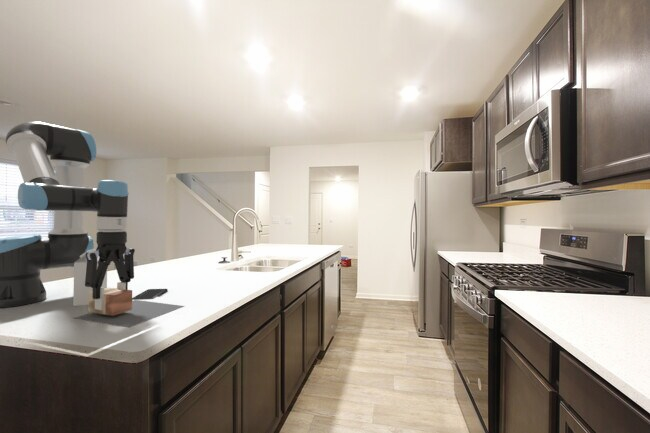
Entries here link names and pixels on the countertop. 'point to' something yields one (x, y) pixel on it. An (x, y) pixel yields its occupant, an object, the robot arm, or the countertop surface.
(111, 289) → the terracotta wooden block
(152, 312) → the mat
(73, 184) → the robot arm
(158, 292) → the phone
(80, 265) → the milk carton
